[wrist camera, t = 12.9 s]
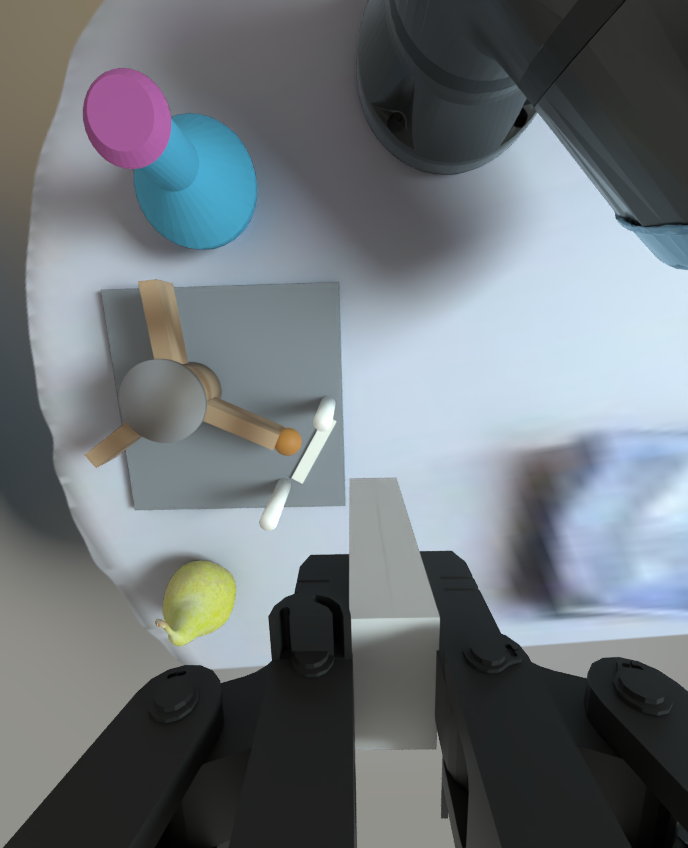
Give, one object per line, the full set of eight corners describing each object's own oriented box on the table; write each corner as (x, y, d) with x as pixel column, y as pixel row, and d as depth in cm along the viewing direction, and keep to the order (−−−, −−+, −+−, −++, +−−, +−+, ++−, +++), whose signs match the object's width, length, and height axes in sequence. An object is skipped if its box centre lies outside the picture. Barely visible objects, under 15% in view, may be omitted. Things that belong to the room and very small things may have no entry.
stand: (107, 290, 37) (32, 278, 29) (338, 283, 37) (335, 269, 28) (139, 506, 42) (84, 552, 33) (345, 501, 42) (344, 547, 33)
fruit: (183, 605, 45) (124, 704, 33) (175, 542, 43) (110, 622, 31) (245, 605, 44) (207, 703, 33) (239, 542, 43) (198, 621, 31)
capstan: (115, 445, 39) (67, 469, 32) (169, 280, 36) (128, 269, 29) (273, 510, 40) (258, 545, 34) (339, 356, 37) (337, 362, 30)
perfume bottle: (180, 122, 34) (53, -31, 20) (283, 169, 35) (235, 55, 20) (148, 233, 36) (12, 168, 22) (247, 275, 37) (179, 240, 22)
